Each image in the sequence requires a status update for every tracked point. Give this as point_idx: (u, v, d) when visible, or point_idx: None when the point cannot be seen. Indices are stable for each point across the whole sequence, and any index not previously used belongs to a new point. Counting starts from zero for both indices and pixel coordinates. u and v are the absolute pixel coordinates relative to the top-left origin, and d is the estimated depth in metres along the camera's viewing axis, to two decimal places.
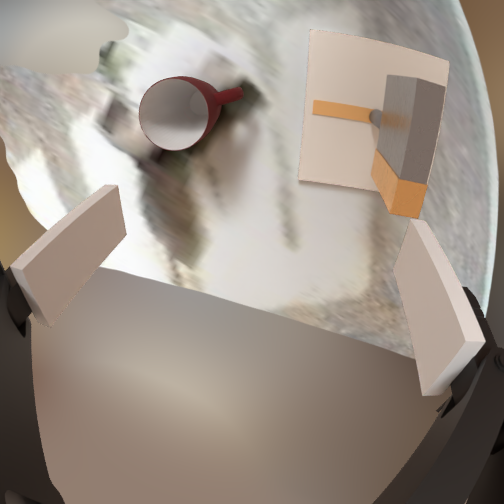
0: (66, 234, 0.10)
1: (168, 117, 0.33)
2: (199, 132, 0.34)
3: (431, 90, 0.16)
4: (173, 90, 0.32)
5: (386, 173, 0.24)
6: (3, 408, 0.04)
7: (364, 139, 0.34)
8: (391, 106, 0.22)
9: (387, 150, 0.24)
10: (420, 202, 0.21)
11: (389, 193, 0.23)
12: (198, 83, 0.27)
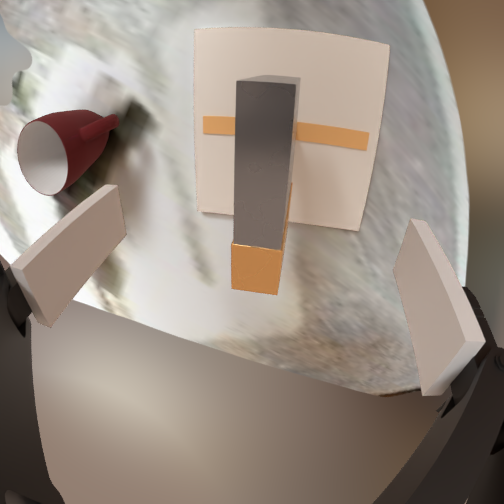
0: (66, 234, 0.10)
1: (58, 152, 0.28)
2: None
3: (266, 96, 0.11)
4: None
5: None
6: (4, 409, 0.04)
7: None
8: None
9: None
10: (275, 274, 0.16)
11: None
12: (59, 121, 0.21)
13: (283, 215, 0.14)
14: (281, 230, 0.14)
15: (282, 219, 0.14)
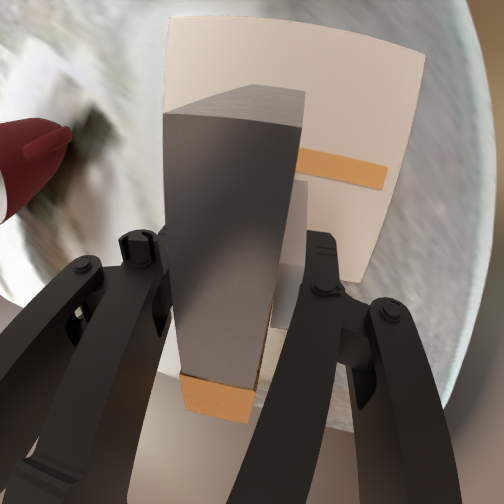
0: None
1: None
2: None
3: (229, 153, 0.05)
4: None
5: None
6: (109, 429, 0.05)
7: None
8: None
9: None
10: (244, 409, 0.10)
11: None
12: None
13: (258, 356, 0.08)
14: (254, 371, 0.09)
15: (256, 360, 0.08)
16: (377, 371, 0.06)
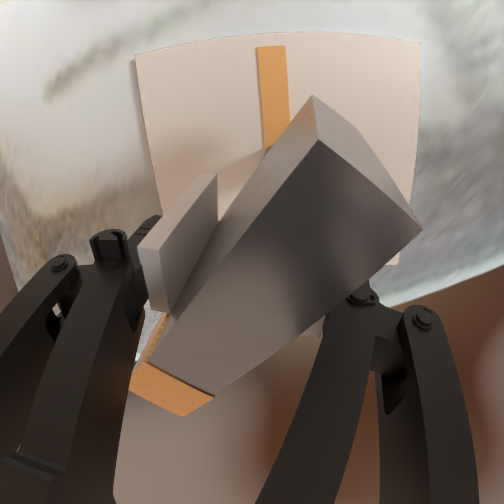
0: (187, 216, 0.11)
1: None
2: None
3: (353, 215, 0.05)
4: None
5: None
6: (89, 421, 0.05)
7: (232, 143, 0.21)
8: (263, 167, 0.11)
9: (203, 254, 0.12)
10: (189, 406, 0.10)
11: (144, 351, 0.11)
12: None
13: (241, 374, 0.08)
14: (226, 383, 0.08)
15: (236, 376, 0.08)
16: (408, 376, 0.06)
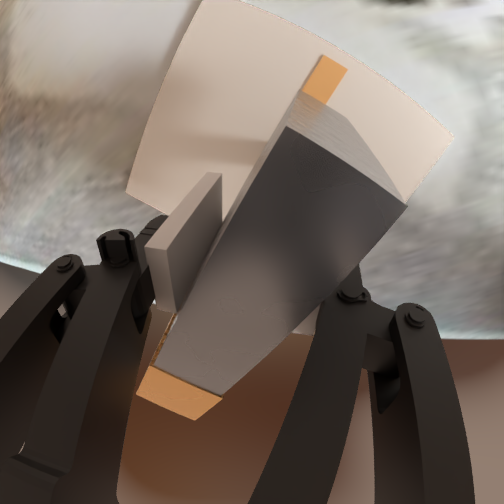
0: (193, 216, 0.11)
1: None
2: None
3: (333, 198, 0.05)
4: None
5: None
6: (94, 423, 0.05)
7: (244, 121, 0.20)
8: (255, 165, 0.11)
9: None
10: (200, 408, 0.10)
11: None
12: None
13: (245, 372, 0.08)
14: (232, 382, 0.08)
15: (241, 375, 0.08)
16: (400, 375, 0.06)
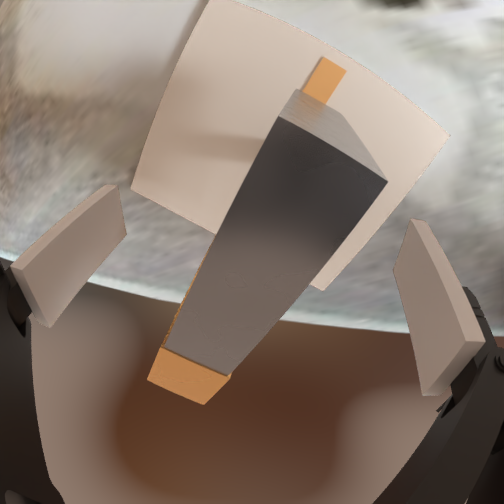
0: (66, 234, 0.10)
1: None
2: None
3: (321, 177, 0.05)
4: None
5: None
6: (3, 409, 0.04)
7: (247, 120, 0.20)
8: None
9: None
10: (209, 391, 0.11)
11: None
12: None
13: (251, 348, 0.09)
14: (239, 360, 0.09)
15: (247, 351, 0.09)
16: None
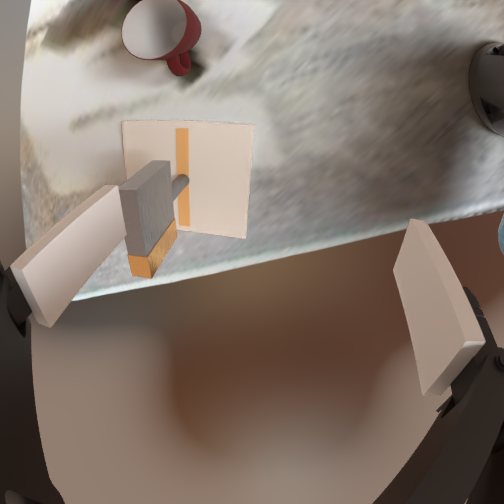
0: (66, 234, 0.10)
1: (164, 10, 0.27)
2: (147, 40, 0.29)
3: (127, 195, 0.28)
4: None
5: None
6: (3, 409, 0.04)
7: None
8: None
9: None
10: (147, 268, 0.33)
11: None
12: (183, 45, 0.26)
13: (143, 242, 0.31)
14: (144, 248, 0.31)
15: (143, 243, 0.31)
16: None
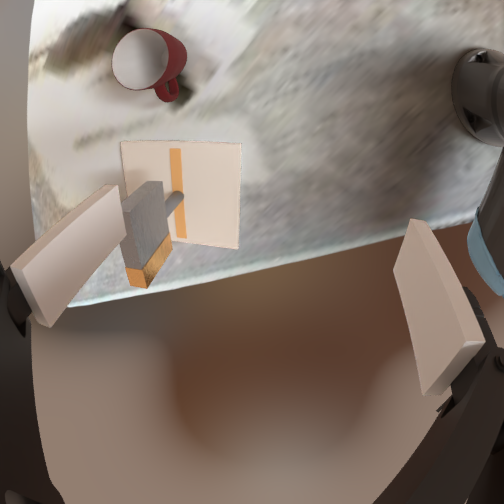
0: (66, 234, 0.10)
1: (151, 39, 0.31)
2: (138, 68, 0.33)
3: None
4: None
5: None
6: (3, 409, 0.04)
7: None
8: None
9: None
10: (143, 279, 0.37)
11: None
12: (167, 75, 0.30)
13: (138, 256, 0.35)
14: (139, 262, 0.35)
15: (138, 258, 0.35)
16: None
